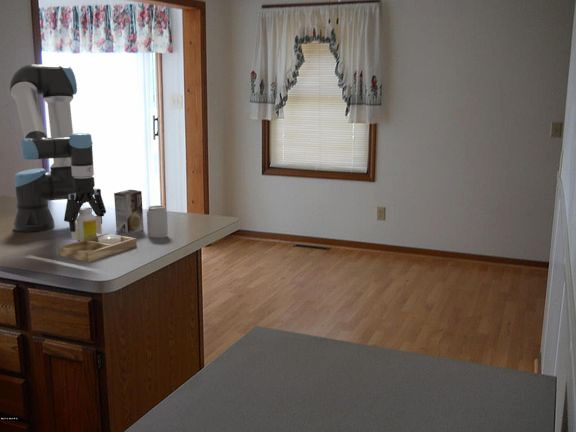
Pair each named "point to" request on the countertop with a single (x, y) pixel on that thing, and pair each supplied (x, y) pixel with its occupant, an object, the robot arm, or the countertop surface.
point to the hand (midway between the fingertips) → (87, 236)
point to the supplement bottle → (86, 224)
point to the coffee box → (129, 211)
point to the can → (157, 221)
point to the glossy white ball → (109, 239)
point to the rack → (95, 248)
